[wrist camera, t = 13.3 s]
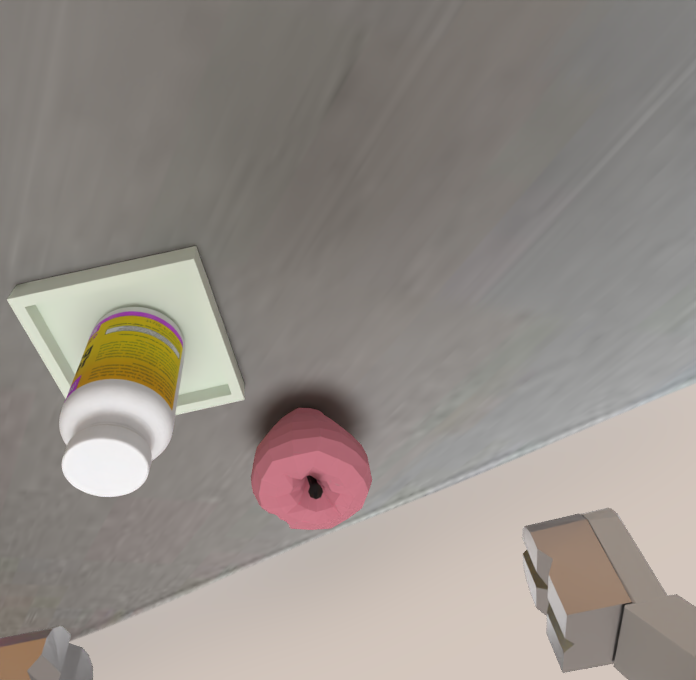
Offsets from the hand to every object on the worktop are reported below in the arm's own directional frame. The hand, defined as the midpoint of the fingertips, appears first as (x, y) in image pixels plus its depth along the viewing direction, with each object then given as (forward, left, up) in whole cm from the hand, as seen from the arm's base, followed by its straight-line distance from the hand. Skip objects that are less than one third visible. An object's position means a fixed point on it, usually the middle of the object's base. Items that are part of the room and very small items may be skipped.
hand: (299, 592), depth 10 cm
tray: (+13, +13, -32) cm, 37 cm away
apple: (+3, +25, -33) cm, 41 cm away
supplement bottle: (+13, +13, -32) cm, 37 cm away
